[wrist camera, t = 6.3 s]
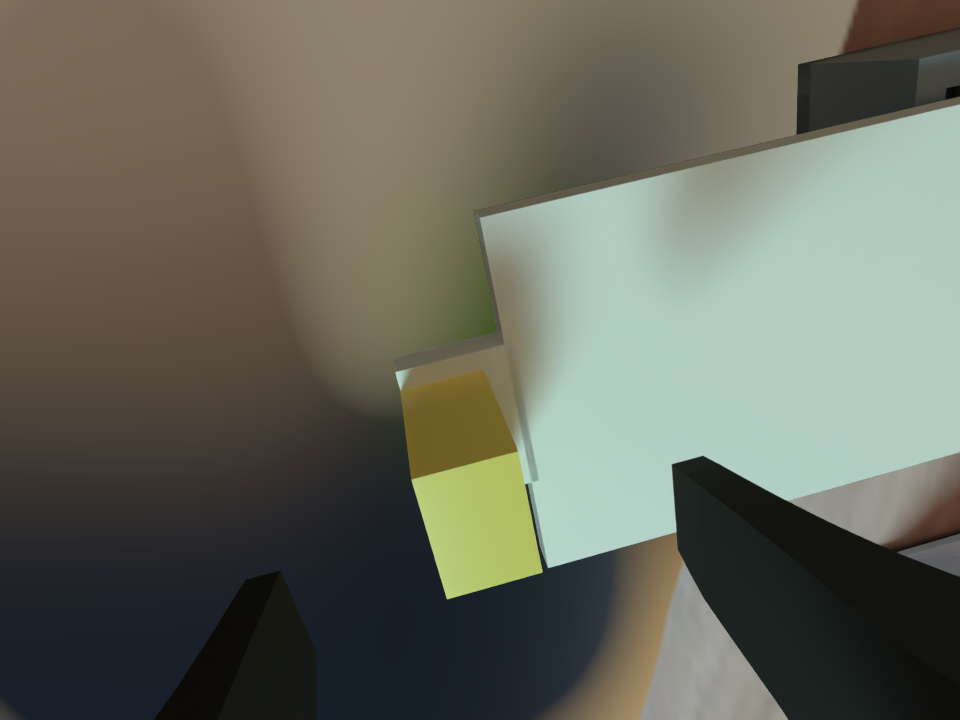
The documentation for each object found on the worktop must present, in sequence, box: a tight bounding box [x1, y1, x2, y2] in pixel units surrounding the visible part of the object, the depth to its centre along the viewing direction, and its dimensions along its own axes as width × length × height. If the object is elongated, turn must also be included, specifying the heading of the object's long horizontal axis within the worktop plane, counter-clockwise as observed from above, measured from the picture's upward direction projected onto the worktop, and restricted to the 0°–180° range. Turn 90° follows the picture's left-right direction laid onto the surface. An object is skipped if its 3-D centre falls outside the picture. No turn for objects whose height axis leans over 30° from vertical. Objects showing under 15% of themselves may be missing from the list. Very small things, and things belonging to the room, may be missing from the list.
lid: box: [394, 97, 960, 599], centre depth 14 cm, size 10×17×4 cm, turn 101°
